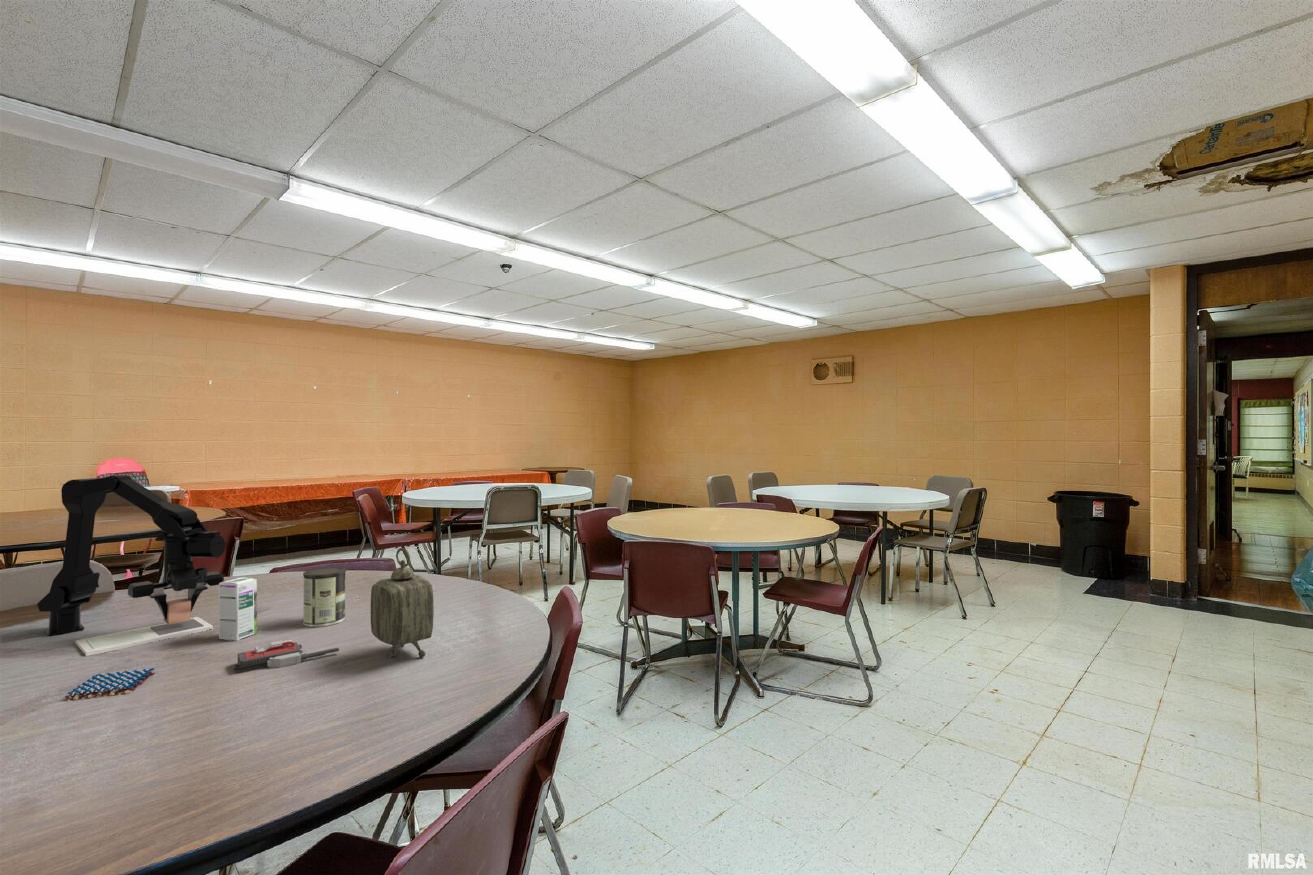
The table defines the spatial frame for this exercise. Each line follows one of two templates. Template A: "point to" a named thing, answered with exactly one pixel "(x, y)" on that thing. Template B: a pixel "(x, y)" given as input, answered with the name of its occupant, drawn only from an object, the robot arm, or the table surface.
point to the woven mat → (110, 684)
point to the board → (141, 636)
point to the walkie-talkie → (275, 656)
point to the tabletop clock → (402, 608)
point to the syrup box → (237, 608)
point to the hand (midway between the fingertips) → (177, 616)
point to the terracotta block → (178, 611)
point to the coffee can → (324, 596)
